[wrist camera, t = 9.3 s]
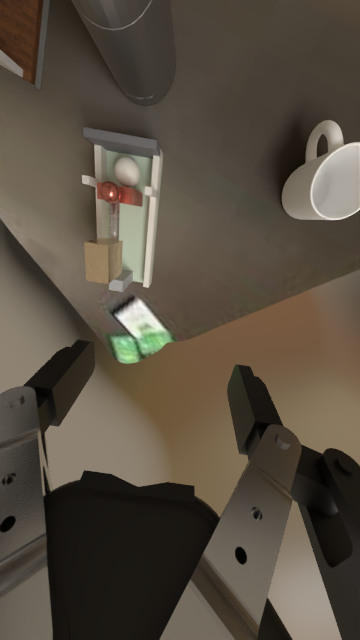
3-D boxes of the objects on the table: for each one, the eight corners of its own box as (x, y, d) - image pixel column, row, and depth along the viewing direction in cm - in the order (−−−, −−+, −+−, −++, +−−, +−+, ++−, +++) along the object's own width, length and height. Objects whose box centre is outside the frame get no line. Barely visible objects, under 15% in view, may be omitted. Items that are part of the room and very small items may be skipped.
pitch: (103, 143, 34) (79, 123, 26) (163, 154, 34) (155, 137, 27) (104, 274, 43) (87, 286, 36) (151, 282, 44) (143, 295, 37)
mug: (275, 146, 33) (308, 119, 23) (331, 125, 31) (390, 86, 22) (282, 225, 38) (311, 228, 28) (330, 210, 36) (378, 208, 27)
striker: (113, 186, 34) (71, 169, 22) (143, 191, 35) (116, 177, 22) (113, 260, 40) (79, 279, 28) (138, 264, 40) (115, 285, 28)
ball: (108, 172, 30) (116, 190, 34) (135, 177, 31) (139, 194, 35) (113, 146, 31) (120, 167, 35) (139, 151, 31) (143, 171, 35)
